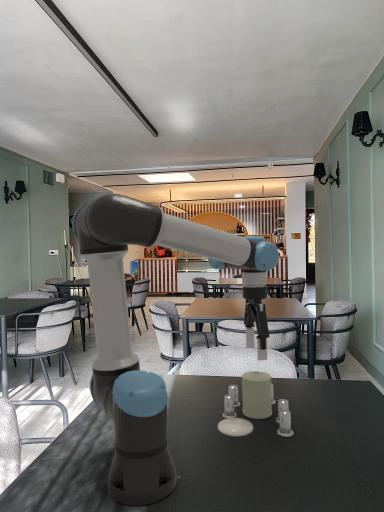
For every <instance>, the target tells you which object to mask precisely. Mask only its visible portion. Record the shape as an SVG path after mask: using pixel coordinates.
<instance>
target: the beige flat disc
mask: <svg viewBox="0 0 384 512" xmlns="http://www.w3.org/2000/svg"><path fill="white" fill-rule="evenodd" d="M217 430H218V431H219V432H220V433H221V434H223V435H226V436H230V437H236V438H237V437H244V436H248V435H249V434H251V433H252V432H253V431H254V425H253V423H252V422H250V421H249V420H247V419H244V418H238V417H236V418H228V419H227V418H224V419H222V420H221V421H219V422H218V424H217Z"/></svg>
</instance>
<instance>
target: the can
mask: <svg viewBox="0 0 384 512" xmlns="http://www.w3.org/2000/svg"><path fill="white" fill-rule="evenodd" d="M271 383H272V375H271V374H270V373H268V372H266V371H265V372H264V371H257V370H256V371H255V370H253V371H246V372H243V374H241V386H242V387H241V389H242V390H241V391H242V414H243V415H244V416H245V417H247V418H250V419H255V420H259V419H260V420H262V419H263V420H264V419H267V418H269V417H271V416H272V415H273V409H272V405H271Z"/></svg>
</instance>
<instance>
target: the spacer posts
mask: <svg viewBox="0 0 384 512" xmlns="http://www.w3.org/2000/svg"><path fill="white" fill-rule="evenodd" d="M238 387H239V386H238V385H236V384H230V385H228V394H225V395H224V397H223V398H224V399H223V400H224V412H222V417H223V418H224V419H228V418H238V416H237V415H238V414H237V412H235V408H238V407H240V406H241V402H240V401H239V388H238ZM275 404H276V400H275V398H274V384H273V383H272V382H271V406H272V405H275ZM291 414H292V413H291V411H290V410H289V400H288V399H285V398H279V399H278V400H277V417H276V418H275V422H276V423H277V424H279V428H278V429H277V430H276V432H277V435H278V436H281V437H284V438H290V437H292V436H293V435H294V430H292V427H291V426H292V417H291Z"/></svg>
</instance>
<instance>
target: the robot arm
mask: <svg viewBox="0 0 384 512" xmlns="http://www.w3.org/2000/svg"><path fill="white" fill-rule="evenodd" d="M71 225H72V232H73V234H74V236H75V238H76V239H77V240H78V247H79V255H80V257H81V258H83V260H85V261H86V262H87V270H88V279H89V280H88V281H89V289H90V299H91V306H92V309H91V310H92V316H93V317H92V318H93V326H94V335H95V347H96V355H97V357H96V358H95V359H94V361H93V362H92V364H91V367H92V368H91V369H92V374H91V377H90V381H89V391H90V395H91V398H92V400H93V402H94V403H95V405H96V406H97V407H98V408H99V409H100V410H101V411H102V412H103V413H104V414H105V415H106V416H107V417H108V418H109V420H111V422H112V423H113V429H114V431H113V432H114V454H113V457H112V460H111V464H110V467H109V470H108V475H107V492H108V494H109V496H110V497H111V498H112V500H114V501H116V502H118V503H120V504H123V505H127V506H145V505H146V504H147V505H151V504H154V503H157V502H160V501H161V500H164V499H165V498H167V497H168V496H169V495H170V494H171V493H172V492H173V491H174V489H175V488H176V485H177V469H176V466H175V465H176V464H175V463H174V459H173V457H172V454H171V452H170V448H169V444H168V443H169V442H168V439H169V437H168V434H169V433H168V391H167V386H166V382H165V380H164V379H163V377H162V376H161V375H159V374H158V373H155V372H153V371H147V370H143V369H142V370H141V365H140V357H139V356H138V355H137V354H136V353H134V352H133V347H132V337H131V327H130V326H131V325H130V318H129V317H130V316H129V309H128V306H129V305H128V298H127V297H128V296H127V289H126V287H127V286H126V277H125V267H124V257H126V255H127V254H128V252H129V247H128V246H131V245H133V246H140V247H143V248H149V249H150V248H152V247H153V246H158V247H162V248H166V249H170V250H173V251H174V250H175V251H178V252H183V253H187V254H191V255H194V256H197V257H198V256H199V257H203V258H206V259H207V261H208V263H209V266H210V267H211V268H212V269H214V270H225V269H229V270H230V269H231V270H233V269H234V270H241V282H242V283H241V284H242V285H243V287H242V298H243V299H244V300H245V309H244V318H243V325H244V328H245V348H246V349H255V348H256V347H255V341H256V342H257V343H256V344H257V345H256V346H257V348H256V349H257V350H256V351H257V361H268V338H270V331H269V324H268V319H267V311H266V310H267V309H266V304H265V303H262V300H265V299H267V298H268V288H267V286H266V285H267V284H268V283H267V278H268V277H269V275H268V274H267V271H271V270H273V269H274V268H275V267H276V266H277V264H278V263H279V259H280V255H279V254H280V252H279V250H278V247H277V246H276V245H275V244H274V243H273V242H270V241H266V238H265V237H264V236H261V235H260V236H259V235H254V236H251V235H249V236H240V235H236V234H234V233H230V232H227V231H223V230H221V229H217V228H213V227H211V226H208V225H204V224H201V223H198V222H195V221H191V220H188V219H185V218H181V217H179V216H174V215H172V214H168V213H165V212H164V211H163V208H162V207H160V206H158V205H155V204H151V203H149V202H145V201H143V200H142V199H141V200H140V199H137V198H134V197H132V196H129V195H128V196H127V195H125V194H120V193H105V194H102V195H99V196H98V197H95V198H91V199H89V200H87V201H85V202H84V203H82V204H81V205H80V206H79V207H78V208H77V210H75V213H74V214H73V217H72V223H71ZM255 328H256V333H257V335H256V337H255ZM255 338H256V340H255Z"/></svg>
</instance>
